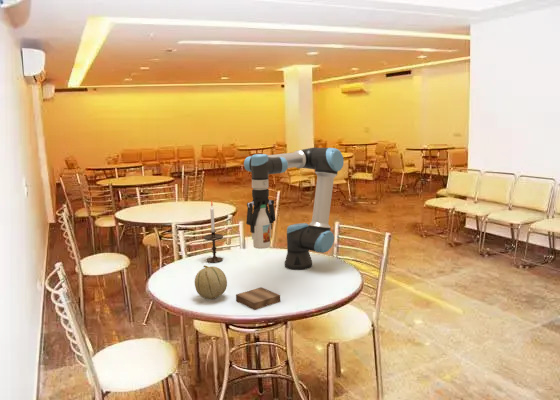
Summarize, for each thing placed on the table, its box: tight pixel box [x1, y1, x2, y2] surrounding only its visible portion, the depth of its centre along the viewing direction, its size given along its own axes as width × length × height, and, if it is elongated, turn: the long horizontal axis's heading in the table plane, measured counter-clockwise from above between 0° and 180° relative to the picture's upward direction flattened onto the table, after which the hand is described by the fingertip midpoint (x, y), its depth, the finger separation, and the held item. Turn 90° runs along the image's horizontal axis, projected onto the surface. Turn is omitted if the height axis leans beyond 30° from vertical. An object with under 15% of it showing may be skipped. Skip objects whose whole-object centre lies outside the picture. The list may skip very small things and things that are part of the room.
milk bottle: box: [252, 204, 271, 249], centre depth 225 cm, size 8×8×20 cm
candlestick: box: [203, 200, 224, 264], centre depth 280 cm, size 11×11×35 cm
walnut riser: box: [235, 286, 281, 311], centre depth 218 cm, size 14×14×3 cm
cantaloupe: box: [194, 265, 228, 300], centre depth 223 cm, size 15×15×15 cm
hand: (261, 238), depth 226 cm, fingers closed on milk bottle, 7 cm apart
